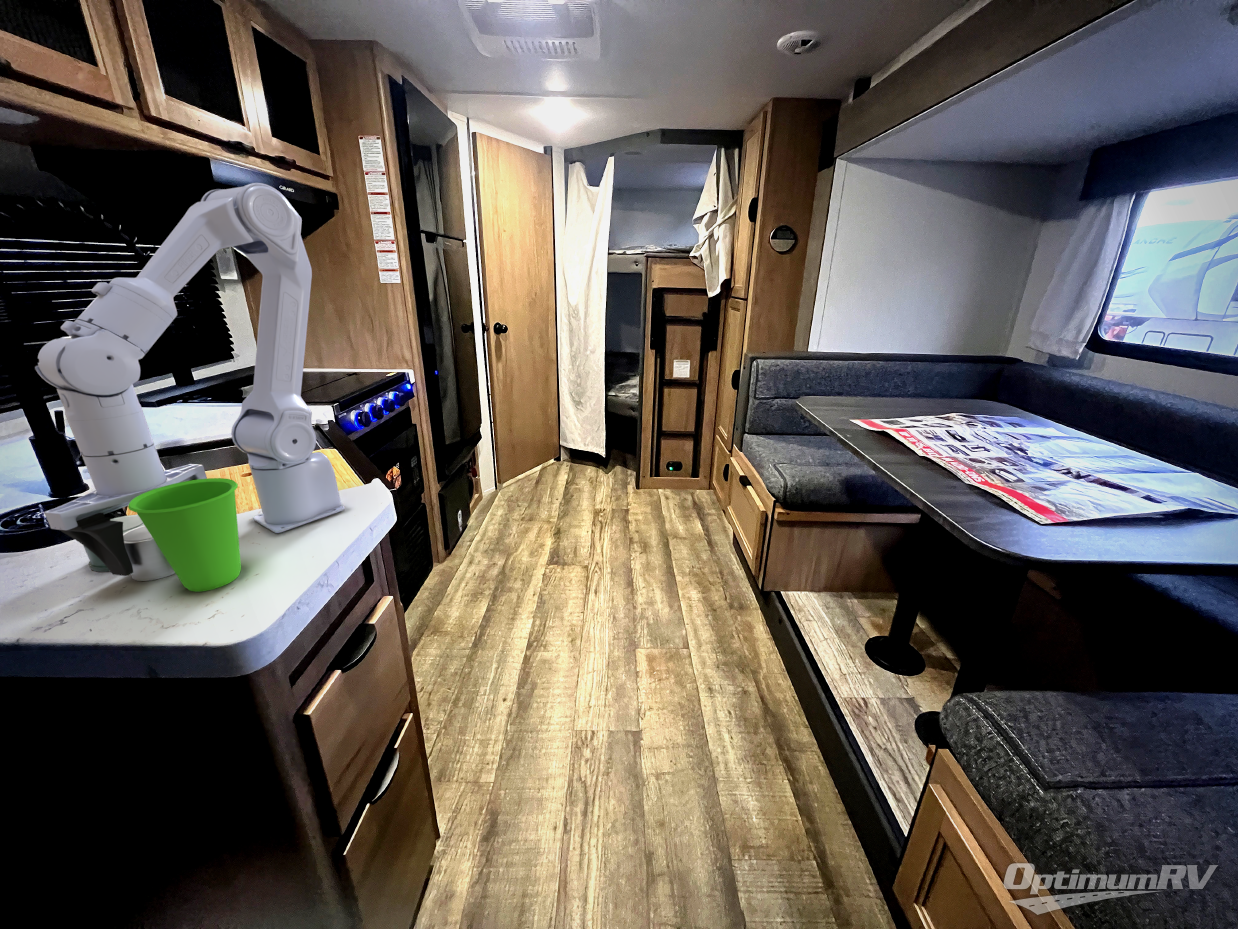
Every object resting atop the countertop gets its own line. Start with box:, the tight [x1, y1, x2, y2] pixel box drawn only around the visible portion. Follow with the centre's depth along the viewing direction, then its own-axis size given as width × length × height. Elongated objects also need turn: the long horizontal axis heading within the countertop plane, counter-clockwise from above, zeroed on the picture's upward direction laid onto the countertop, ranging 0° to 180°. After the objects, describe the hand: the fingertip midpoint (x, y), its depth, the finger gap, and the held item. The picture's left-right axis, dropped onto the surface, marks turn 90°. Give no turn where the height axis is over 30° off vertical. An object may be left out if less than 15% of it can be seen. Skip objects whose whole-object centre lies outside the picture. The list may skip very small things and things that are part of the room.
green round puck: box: [83, 514, 145, 573], centre depth 59 cm, size 7×7×4 cm
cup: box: [127, 477, 242, 593], centre depth 54 cm, size 9×9×11 cm
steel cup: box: [123, 526, 176, 582], centre depth 57 cm, size 5×5×5 cm
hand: (159, 556), depth 57 cm, fingers open, 7 cm apart
